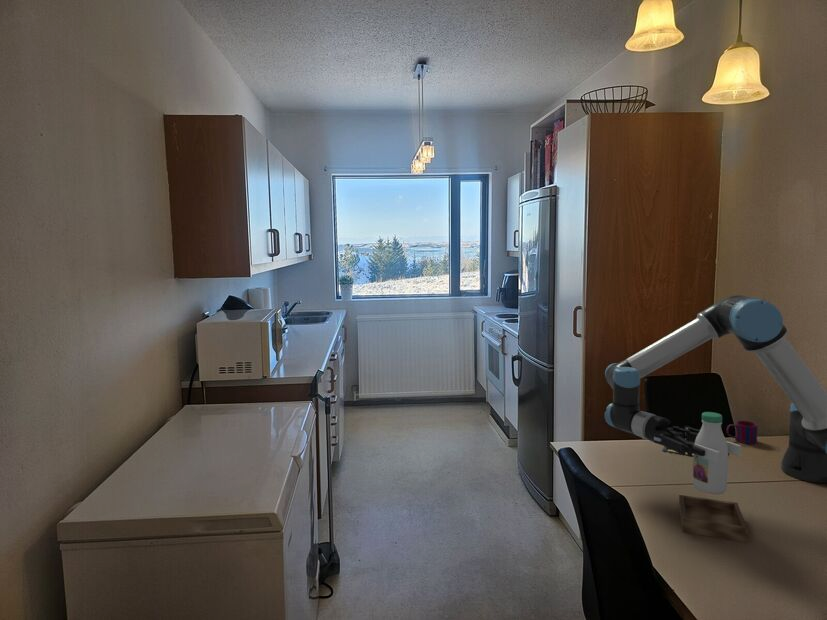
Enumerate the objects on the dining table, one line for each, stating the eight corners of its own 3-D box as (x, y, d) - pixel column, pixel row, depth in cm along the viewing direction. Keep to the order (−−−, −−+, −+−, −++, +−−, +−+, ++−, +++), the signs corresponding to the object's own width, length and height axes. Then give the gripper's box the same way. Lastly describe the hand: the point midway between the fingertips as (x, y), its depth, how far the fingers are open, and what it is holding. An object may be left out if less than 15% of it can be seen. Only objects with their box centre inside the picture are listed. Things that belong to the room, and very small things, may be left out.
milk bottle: (723, 483, 137) (725, 410, 135) (730, 496, 130) (732, 419, 128) (690, 480, 140) (692, 408, 137) (695, 492, 132) (697, 417, 130)
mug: (759, 445, 186) (760, 426, 185) (728, 443, 189) (729, 425, 188) (752, 438, 193) (753, 421, 192) (722, 437, 195) (723, 419, 194)
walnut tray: (737, 515, 138) (737, 502, 138) (746, 542, 126) (747, 528, 125) (678, 506, 144) (679, 494, 144) (682, 531, 131) (682, 518, 131)
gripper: (676, 434, 154) (754, 460, 134) (626, 446, 146) (701, 477, 125) (676, 409, 154) (755, 432, 133) (627, 421, 145) (702, 447, 124)
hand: (729, 454), depth 129 cm, fingers closed on milk bottle, 8 cm apart
